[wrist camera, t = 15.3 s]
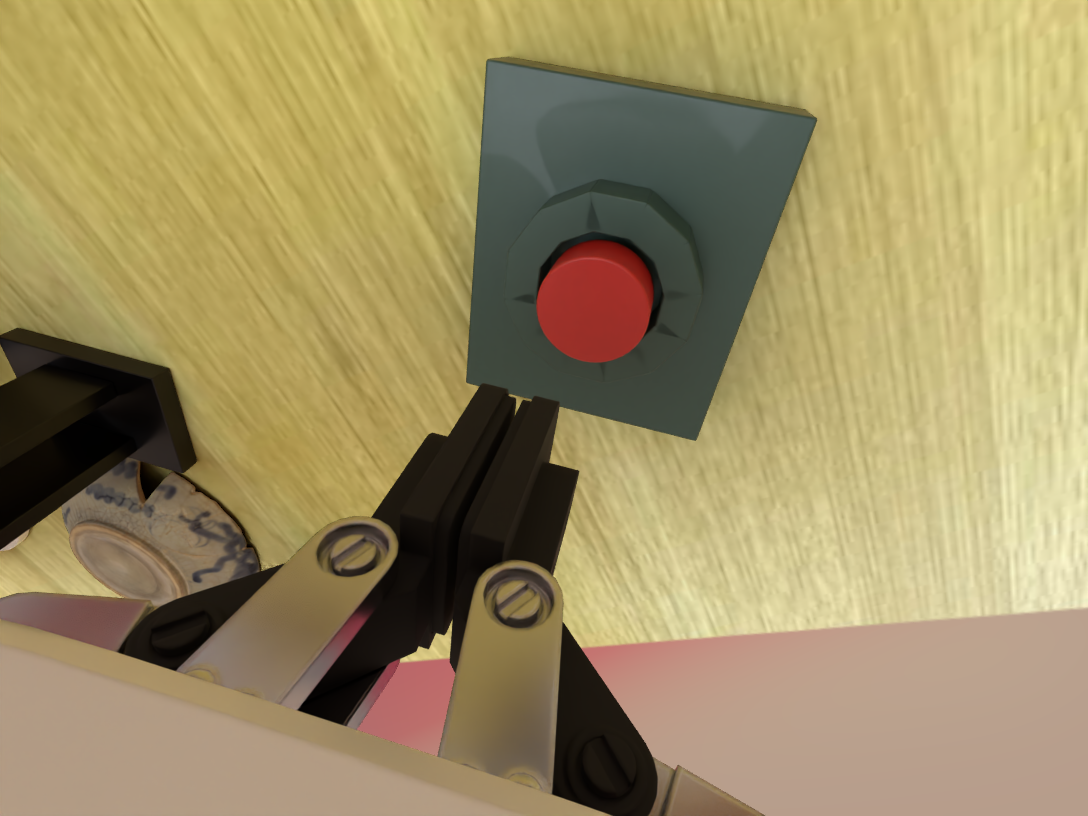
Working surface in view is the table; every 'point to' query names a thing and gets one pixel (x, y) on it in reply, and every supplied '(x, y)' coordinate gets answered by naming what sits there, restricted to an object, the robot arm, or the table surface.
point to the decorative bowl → (154, 537)
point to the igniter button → (596, 301)
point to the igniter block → (624, 229)
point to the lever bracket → (78, 424)
